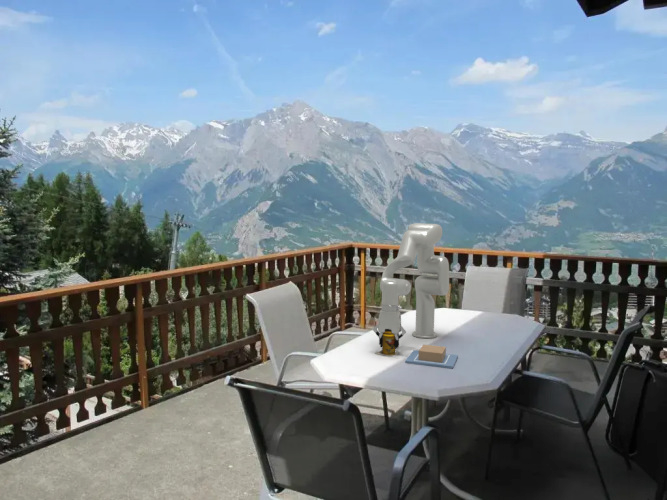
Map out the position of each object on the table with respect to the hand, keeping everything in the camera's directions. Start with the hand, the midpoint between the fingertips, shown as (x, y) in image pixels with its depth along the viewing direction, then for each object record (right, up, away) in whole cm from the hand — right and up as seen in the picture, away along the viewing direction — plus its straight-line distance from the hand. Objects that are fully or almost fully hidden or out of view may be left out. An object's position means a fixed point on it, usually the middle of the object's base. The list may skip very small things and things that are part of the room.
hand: (388, 346), depth 230 cm
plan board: (+18, -4, -8) cm, 20 cm away
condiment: (-1, -3, +1) cm, 4 cm away
